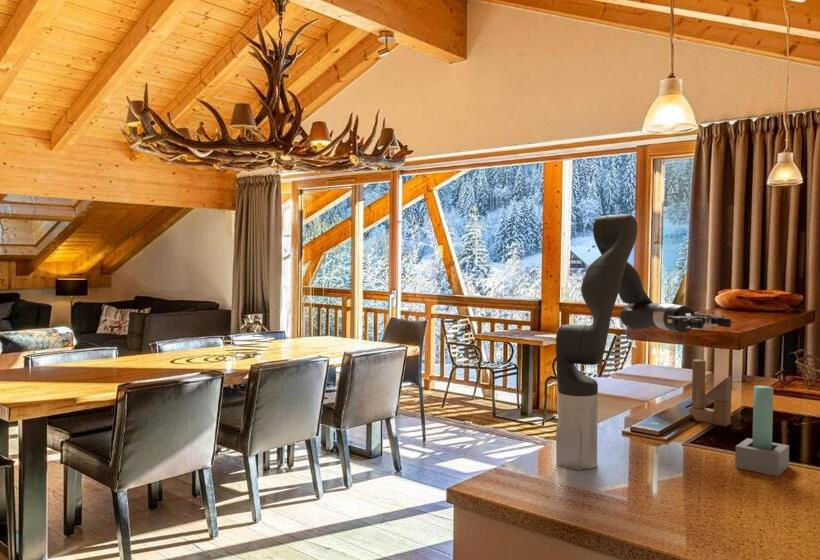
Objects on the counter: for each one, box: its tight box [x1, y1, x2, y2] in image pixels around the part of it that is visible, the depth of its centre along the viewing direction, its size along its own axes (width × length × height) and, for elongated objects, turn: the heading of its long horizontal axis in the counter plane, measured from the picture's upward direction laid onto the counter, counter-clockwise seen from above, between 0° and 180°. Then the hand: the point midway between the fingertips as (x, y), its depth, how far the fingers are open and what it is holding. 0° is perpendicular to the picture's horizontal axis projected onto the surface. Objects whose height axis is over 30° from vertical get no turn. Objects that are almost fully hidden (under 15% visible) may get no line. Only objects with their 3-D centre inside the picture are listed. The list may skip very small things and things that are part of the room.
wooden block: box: [688, 359, 732, 427], centre depth 192 cm, size 4×11×18 cm, turn 42°
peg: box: [752, 384, 774, 451], centre depth 152 cm, size 4×4×18 cm
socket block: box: [734, 437, 790, 477], centre depth 152 cm, size 9×9×5 cm
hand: (716, 323), depth 166 cm, fingers open, 8 cm apart
